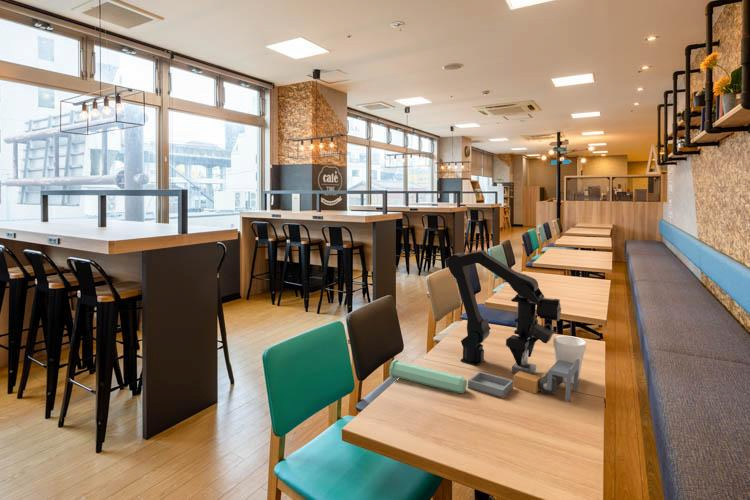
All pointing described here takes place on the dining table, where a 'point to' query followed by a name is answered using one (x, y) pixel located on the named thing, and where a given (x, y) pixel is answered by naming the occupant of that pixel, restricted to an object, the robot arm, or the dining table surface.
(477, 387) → the tray
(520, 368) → the pin bracket
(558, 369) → the grey wheeled cart
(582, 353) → the foam cup
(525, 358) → the pin
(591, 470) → the dining table surface
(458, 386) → the container
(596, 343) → the dining table surface
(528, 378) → the block
